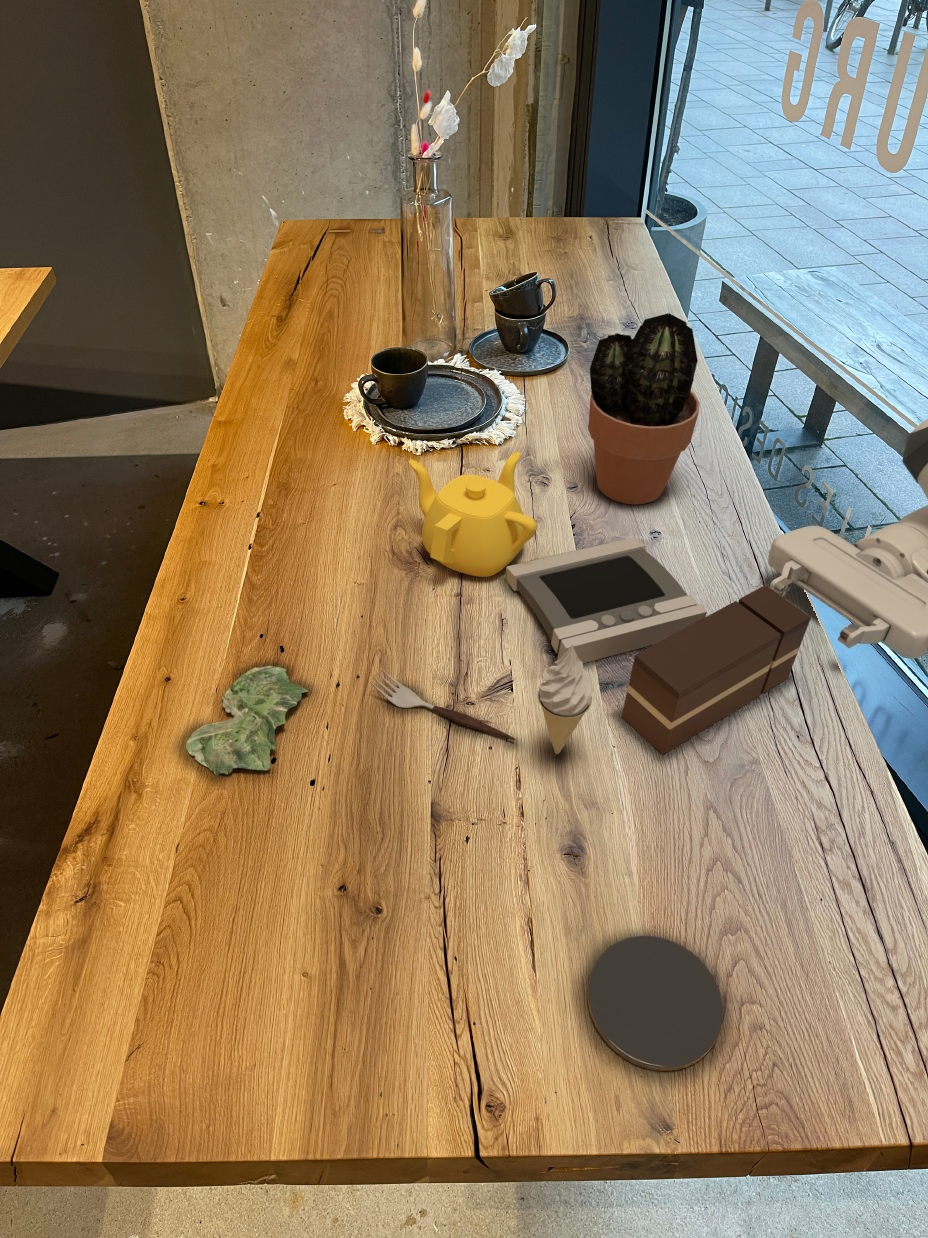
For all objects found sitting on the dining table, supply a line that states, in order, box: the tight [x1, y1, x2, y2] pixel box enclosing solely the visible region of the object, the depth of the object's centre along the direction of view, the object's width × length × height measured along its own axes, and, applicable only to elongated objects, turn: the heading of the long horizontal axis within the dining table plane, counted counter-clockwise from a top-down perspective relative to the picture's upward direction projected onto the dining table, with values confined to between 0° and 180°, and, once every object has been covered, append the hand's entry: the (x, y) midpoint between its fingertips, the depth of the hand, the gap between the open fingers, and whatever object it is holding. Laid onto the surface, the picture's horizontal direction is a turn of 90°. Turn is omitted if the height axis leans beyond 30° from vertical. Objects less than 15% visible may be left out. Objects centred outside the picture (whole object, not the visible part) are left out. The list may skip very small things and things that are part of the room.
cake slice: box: [737, 584, 812, 695], centre depth 96 cm, size 4×6×9 cm, turn 35°
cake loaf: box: [621, 600, 781, 755], centre depth 91 cm, size 14×6×9 cm, turn 125°
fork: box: [369, 667, 516, 741], centre depth 92 cm, size 3×16×2 cm, turn 63°
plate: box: [587, 935, 724, 1072], centre depth 71 cm, size 10×10×1 cm
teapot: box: [408, 451, 538, 578], centre depth 109 cm, size 14×13×10 cm
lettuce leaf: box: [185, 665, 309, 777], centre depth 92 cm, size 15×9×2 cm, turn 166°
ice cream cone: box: [537, 645, 593, 755], centre depth 85 cm, size 5×5×15 cm
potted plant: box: [587, 312, 701, 505], centre depth 115 cm, size 14×14×25 cm
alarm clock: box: [505, 536, 708, 664], centre depth 105 cm, size 17×5×16 cm
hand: (808, 614), depth 98 cm, fingers open, 8 cm apart
